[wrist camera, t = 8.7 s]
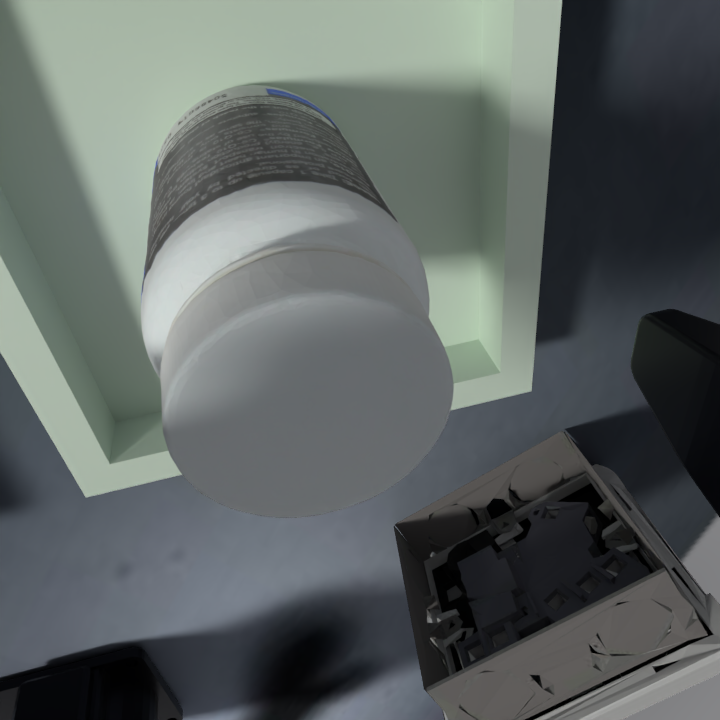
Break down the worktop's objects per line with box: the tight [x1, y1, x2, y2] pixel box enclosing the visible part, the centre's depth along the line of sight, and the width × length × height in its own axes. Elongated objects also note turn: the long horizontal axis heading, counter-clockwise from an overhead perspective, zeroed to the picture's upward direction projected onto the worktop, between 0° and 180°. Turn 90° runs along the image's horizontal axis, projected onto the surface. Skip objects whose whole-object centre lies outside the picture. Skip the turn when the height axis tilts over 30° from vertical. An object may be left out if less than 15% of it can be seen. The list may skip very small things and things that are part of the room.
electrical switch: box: [394, 431, 720, 720], centre depth 22 cm, size 9×5×9 cm, turn 120°
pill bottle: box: [141, 85, 454, 518], centre depth 12 cm, size 5×5×8 cm
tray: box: [0, 0, 562, 497], centre depth 15 cm, size 13×13×2 cm
